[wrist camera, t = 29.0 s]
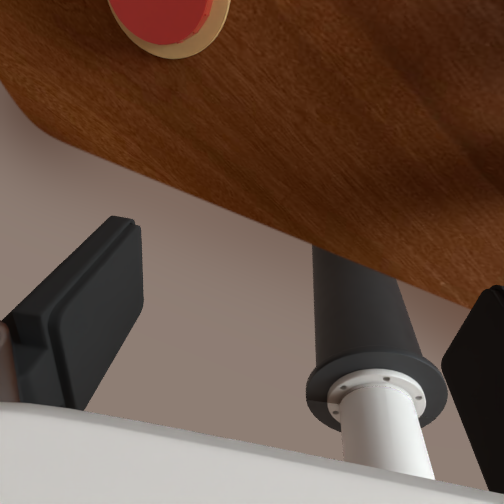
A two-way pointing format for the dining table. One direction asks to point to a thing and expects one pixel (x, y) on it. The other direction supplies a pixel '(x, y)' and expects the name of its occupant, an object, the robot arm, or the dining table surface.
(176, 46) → the coaster
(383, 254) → the dining table surface
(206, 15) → the lid
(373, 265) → the dining table surface
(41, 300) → the robot arm
